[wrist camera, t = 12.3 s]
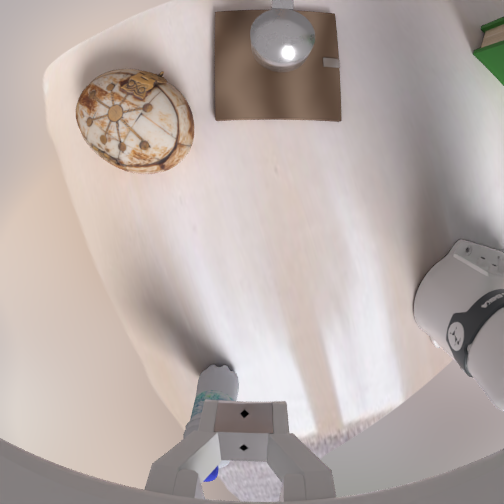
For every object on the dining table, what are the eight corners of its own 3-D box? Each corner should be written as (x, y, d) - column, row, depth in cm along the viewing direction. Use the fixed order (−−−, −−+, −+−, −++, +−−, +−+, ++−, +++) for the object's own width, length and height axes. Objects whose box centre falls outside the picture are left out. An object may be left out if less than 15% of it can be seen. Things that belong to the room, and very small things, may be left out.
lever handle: (309, 74, 28) (316, 63, 24) (250, 71, 28) (249, 60, 24) (306, -22, 24) (311, -40, 20) (253, -25, 24) (252, -43, 20)
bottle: (210, 393, 49) (192, 492, 30) (192, 365, 47) (163, 466, 28) (247, 384, 48) (241, 487, 29) (230, 354, 46) (215, 461, 27)
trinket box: (199, 170, 38) (184, 174, 30) (94, 175, 38) (63, 182, 30) (200, 67, 33) (186, 49, 26) (95, 82, 34) (64, 72, 26)
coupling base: (332, 17, 30) (343, -2, 25) (338, 121, 35) (352, 116, 29) (216, 15, 31) (209, -5, 25) (216, 120, 35) (209, 115, 30)
